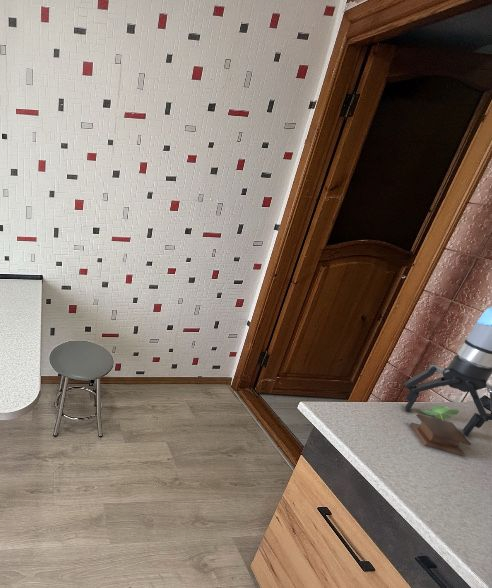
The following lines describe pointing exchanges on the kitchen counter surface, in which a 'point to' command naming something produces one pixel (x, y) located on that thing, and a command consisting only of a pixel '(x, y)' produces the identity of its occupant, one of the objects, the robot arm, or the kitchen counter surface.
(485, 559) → the kitchen counter surface
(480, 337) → the robot arm
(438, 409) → the seedling
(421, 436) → the plant stand
